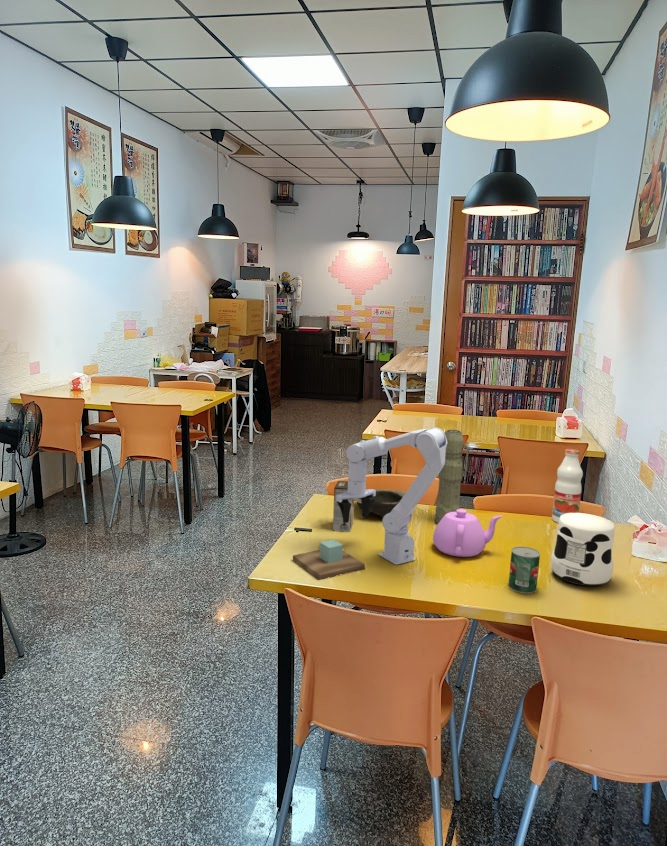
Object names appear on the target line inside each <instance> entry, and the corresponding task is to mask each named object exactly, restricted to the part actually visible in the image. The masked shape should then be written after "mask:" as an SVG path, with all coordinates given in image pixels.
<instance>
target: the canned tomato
mask: <svg viewBox="0 0 667 846" xmlns="http://www.w3.org/2000/svg"><path fill="white" fill-rule="evenodd" d="M540 558H541V552H540V551H539V550H538V549H535V548H533V547H529V546H514V547H513V548H511V554H510V565H509V573H508V583H507V584H508V585H507V586H508V588H509V587H510V588H511V591H514V592H516V591H517V593H519V592H522V593H521V594H533V593H532V592H534V593H536V591H537V590H538V589H537V587H538V579H539V570H540V569H539V568H540V560H541V559H540ZM510 588H509V589H510Z"/></svg>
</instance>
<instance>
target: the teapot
mask: <svg viewBox="0 0 667 846" xmlns="http://www.w3.org/2000/svg"><path fill="white" fill-rule="evenodd" d="M503 516H504V515H502V514H501V515H500V514H499V515H495V516H493V517H492V518H491V519H490V520H489V526H488V528H487V529H486V530H485V531H484V529H483V527H482V523H481V522H480V521H479V519H478V518H477V516H476V515H475V514H472V513H469V512H468V511H467V510H466V509H464V508H460V509H457V510H456V512H449V513H447V514H446V515H445V516H444V517H443V518H442V519H441V521H440V522H439V523H438V524H436V527H435V529H434V531H433V535H432V541H433V544H434V545H435V547H436V548H437V550H439V551H440V552H441V553H444V554H445V555H450V556H454V557H461V558H466V557H467V558H469V557H474V556H477V555H479V554H480V553H481V552H482V551H483V550H484V549H485V548H486V545H487V544H488V543H490V542H491V541H492V540H493V537H494V536H495V530H496V524H497V522H498V520H499V519H501V518H503Z"/></svg>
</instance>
